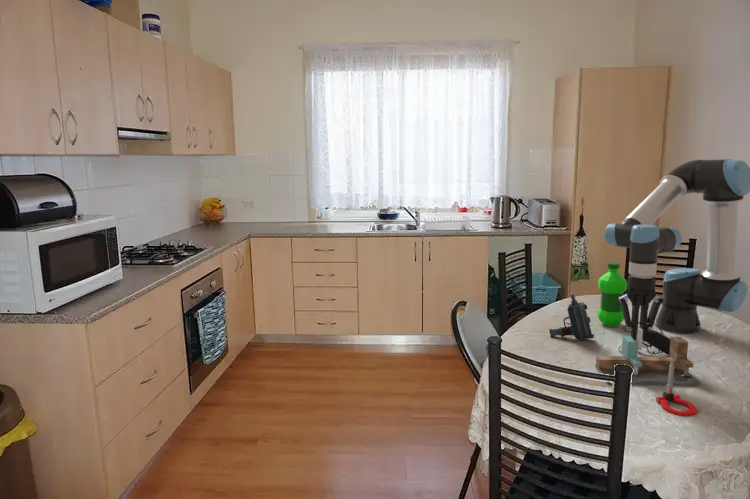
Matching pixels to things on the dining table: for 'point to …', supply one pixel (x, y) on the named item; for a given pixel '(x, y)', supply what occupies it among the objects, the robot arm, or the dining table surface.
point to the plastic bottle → (611, 296)
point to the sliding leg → (631, 352)
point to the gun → (575, 322)
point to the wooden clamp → (654, 359)
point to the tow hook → (674, 397)
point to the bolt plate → (656, 377)
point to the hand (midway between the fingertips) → (637, 348)
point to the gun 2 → (657, 341)
